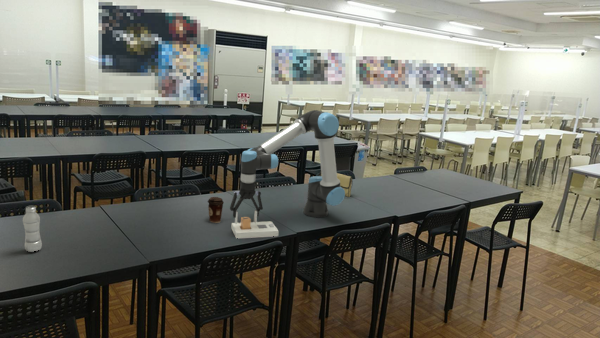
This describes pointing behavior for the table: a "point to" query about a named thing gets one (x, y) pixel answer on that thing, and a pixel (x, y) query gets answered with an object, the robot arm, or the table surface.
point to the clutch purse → (344, 183)
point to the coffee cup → (215, 209)
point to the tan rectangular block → (245, 223)
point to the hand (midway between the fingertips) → (245, 222)
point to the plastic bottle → (32, 229)
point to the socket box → (255, 230)
